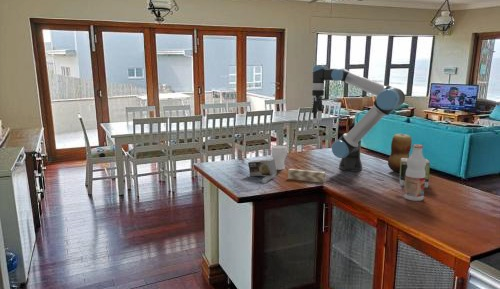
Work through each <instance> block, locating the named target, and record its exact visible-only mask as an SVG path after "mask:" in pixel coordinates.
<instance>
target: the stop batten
mask: <svg viewBox="0 0 500 289" xmlns="http://www.w3.org/2000/svg"><path fill="white" fill-rule="evenodd" d="M275 176H277V173H276V174H274V175H265V177H263V178H262V179H261V184H266V183H268V182H269V181H270V180H271V179H273V178H274V177H275Z"/></svg>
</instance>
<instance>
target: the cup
mask: <svg viewBox="0 0 500 289" xmlns="http://www.w3.org/2000/svg"><path fill="white" fill-rule="evenodd" d="M270 152H271V154H270V155H271V157H272V159H275V165H276V171H278V170H279V171H280V170H285V168H286V167H285V159H286V157H287V155H288V148H287V146H286V145H279V144H278V145H273V146H271V150H270Z"/></svg>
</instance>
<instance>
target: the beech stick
mask: <svg viewBox="0 0 500 289" xmlns="http://www.w3.org/2000/svg"><path fill="white" fill-rule="evenodd" d="M287 173H288V174H287V176H288V177H287V178H288V180H295V181H307V182H312V183H313V182H315V183H316V182H317V183H322V184H323V183H324V184H325V182H326V171H320V170H308V169H298V168H288V172H287Z"/></svg>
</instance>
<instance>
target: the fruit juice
mask: <svg viewBox="0 0 500 289" xmlns="http://www.w3.org/2000/svg"><path fill="white" fill-rule="evenodd" d="M411 148H412V152H411V154H410V155H409V158H408V159H407V169H406V174H405V186H403V187H404V190H403V197H404V198H405V200H409V201H415V202H419V201H423V200H424V195H425V187H424V186H425V175H426V172H425V166H426V160H425V159H426V158H425V157H424V154H423V149H424V145H423V144H417V143H415V144H413V145H411Z"/></svg>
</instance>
